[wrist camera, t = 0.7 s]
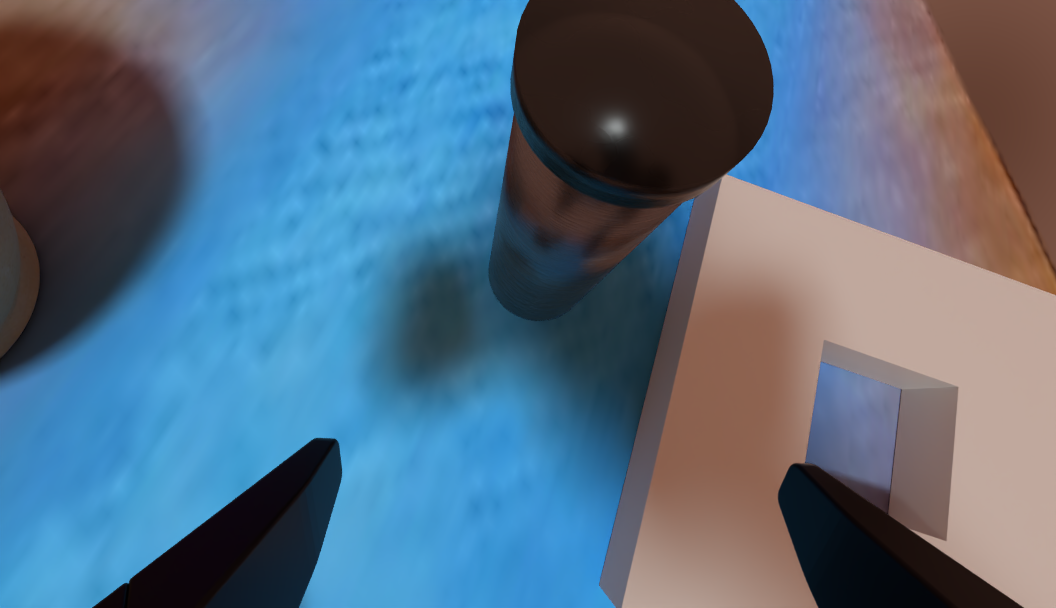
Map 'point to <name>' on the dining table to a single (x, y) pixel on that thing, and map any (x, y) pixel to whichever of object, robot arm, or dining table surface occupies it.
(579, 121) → the tube
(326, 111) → the dining table surface
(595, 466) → the dining table surface
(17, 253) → the planter bowl
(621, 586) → the mount plate
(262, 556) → the robot arm
